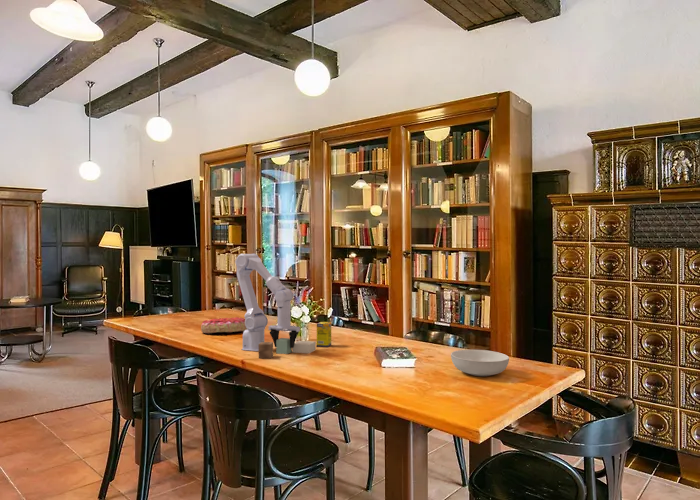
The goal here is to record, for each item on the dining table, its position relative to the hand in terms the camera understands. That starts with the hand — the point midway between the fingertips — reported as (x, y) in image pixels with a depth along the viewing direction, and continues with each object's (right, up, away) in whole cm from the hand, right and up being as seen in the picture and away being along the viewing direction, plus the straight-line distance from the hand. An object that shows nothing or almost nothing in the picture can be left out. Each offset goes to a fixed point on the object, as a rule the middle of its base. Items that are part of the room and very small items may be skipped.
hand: (284, 347), depth 222 cm
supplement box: (+17, -3, +15) cm, 23 cm away
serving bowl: (+77, -3, -36) cm, 85 cm away
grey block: (+8, -3, +3) cm, 10 cm away
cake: (-40, -3, +55) cm, 68 cm away
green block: (0, -3, 0) cm, 3 cm away
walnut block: (-7, -3, -9) cm, 12 cm away
